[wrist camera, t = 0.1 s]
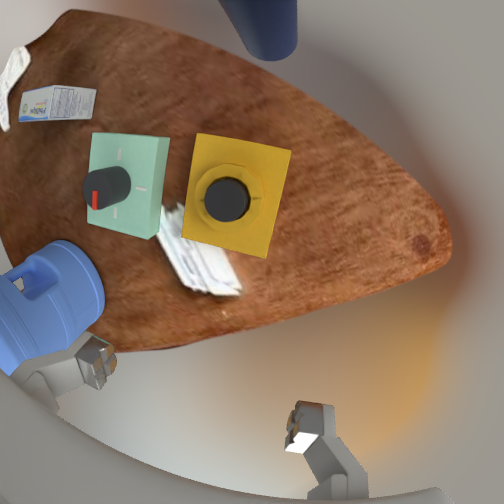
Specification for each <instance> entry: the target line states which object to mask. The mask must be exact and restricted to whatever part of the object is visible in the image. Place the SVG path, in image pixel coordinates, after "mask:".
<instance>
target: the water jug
mask: <svg viewBox="0 0 504 504" xmlns="http://www.w3.org/2000/svg"><path fill="white" fill-rule="evenodd" d="M20 277H22V278H23V284H24V293H23V294H22V293H21V292H20V290H19V289H18V288H17V287H16V286H15V285H14V284H13V282H14V281H16V280H17V279H19V278H20ZM104 305H105V294H104V288H103V284H102V281H101V279H100V276H99V274H98V272H97V270H96V268H95V266H94V265H93V263H92V262H91V260H90V259H89V258H88V256H87V255H86V254H85V253H84V252H83V251H82V250H81V249H80V248H78V247H77V246H76V245H74V244H72V243H70V242H68V241H64V240H57V241H54V242H52V243H50V244H48V245H46V246H45V247H44V248H42V249H41V250H39V251H37V252H35V253H33V254H32V255H30V256H28V257H27V258H26V259H25V261H24V262H23V263H21V264H20V265H18V266H16V267H15V268H13V269H12V270H10V271H8V272H7V273H5V274H4V275H0V368H1V369H2V370H3V371H4V372H5V373H6V374H7V375H8V376H10V375H11V374H12V373H13V371H14V370H15V369H16V368H17V367H18V366H19V365H20V364H21V363H22V362H23V361H24V360H28V359H32V358H35V357H39V356H43V355H46V354H50V353H53V352H57V351H60V350H64V351H66V350H67V349H68V347H69V346H70V345H71V344H72V343H73V342H74V341H75V340H76V339H77V338H78V337H79V336H80V335H81V334H82V333H83V332H84V331H85V330H86V329H87V328H88V327H89V326H90V325H91V324H93V323H94V322H95V321H96V320H97V319H98V318H99V317H100V316H101V314H102V312H103V310H104Z"/></svg>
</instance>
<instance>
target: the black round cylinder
mask: <svg viewBox="0 0 504 504" xmlns="http://www.w3.org/2000/svg"><path fill="white" fill-rule="evenodd" d="M130 190H131V179H130V176H129V174H128V172H127V171H126V170H125V169H124V168H122V167H120V166H113V167H108V168H103V169H98V170H93V171H91V172H90V173H88V174H87V176H86V177H85V179H84V182H83V195H84V198H85V200H86V202H87V204H88V205H89V206H90V207H91V208H92V210H101V209H104V208H106V207H109V206H111V205H114V204H116V203H119V202H121V201H123V200H125V199H126V198H127V197H128V195H129V193H130Z"/></svg>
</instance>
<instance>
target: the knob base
mask: <svg viewBox="0 0 504 504" xmlns="http://www.w3.org/2000/svg"><path fill="white" fill-rule="evenodd" d="M169 143H170V138H168V137H159V136H149V135H138V134H125V133H107V132H105V133H93V134H92V143H91V152H90V163H89V173H90V172H91V171H93V170H98V169H103V168H108V167H113V166H120V167H122V168H124V169H125V170H126V171H127V172H128V174H129V176H130V179H131V190H130V193H129V195H128V197H127V198H126V199H125V200H123V201H121V202H119V203H116V204H114V205H111V206H109V207H106V208H104V209H101V210H92V208H91V207H90V206H89V205H88V206H87V222H88V223H90V224H94V225H97V226H101V227H104V228H108V229H111V230H115V231H119V232H122V233H126V234H129V235H133V236H137V237H140V238H144V239H149V238H151V237H152V236H154V235H155V234H156V233H158V232H159V223H160V212H161V202H162V193H163V185H164V177H165V169H166V162H167V156H168V149H169Z"/></svg>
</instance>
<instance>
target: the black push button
mask: <svg viewBox="0 0 504 504" xmlns="http://www.w3.org/2000/svg"><path fill="white" fill-rule="evenodd" d="M247 204H248V195H247V191H246V189H245V188H244V186H243V185H242V184H241V183H239V182H238V181H236V180H233V179H223V180H220V181H218V182H216V183H214V184H212V185H211V186H210V187H209V188H208V189H207V191H206V193H205V197H204V205H205V208H206V210H207V212H208V214H209V215H210V216H211V217H212V218H214V219H215V220H217V221H220V222H231V221H234V220H235V219H237V218H238V217H239V216H240V215H241V214H242V213H243V212H244V210H245V209H246V207H247Z"/></svg>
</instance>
